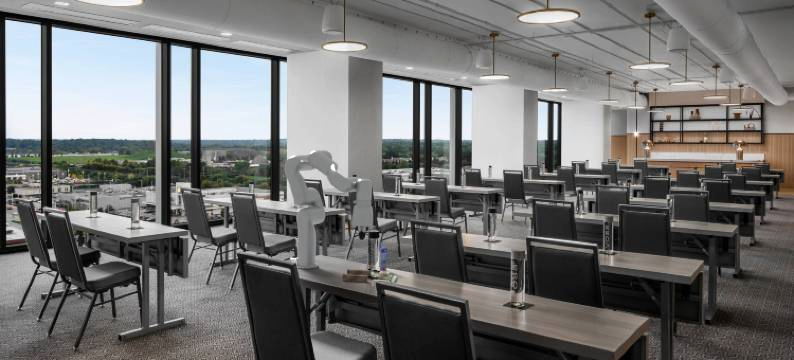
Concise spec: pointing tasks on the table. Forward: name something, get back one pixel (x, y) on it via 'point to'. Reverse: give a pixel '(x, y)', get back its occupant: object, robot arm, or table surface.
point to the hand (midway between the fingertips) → (361, 239)
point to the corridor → (357, 275)
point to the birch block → (384, 275)
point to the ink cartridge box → (381, 258)
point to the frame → (387, 280)
